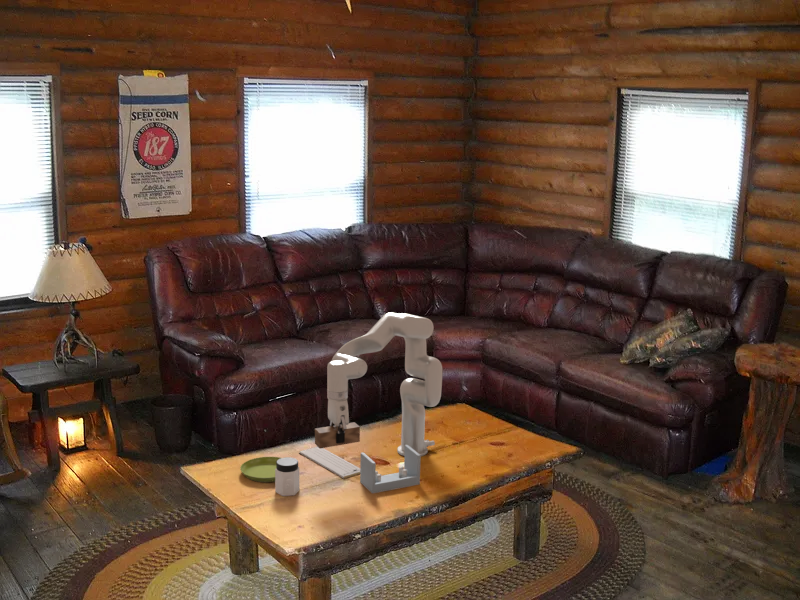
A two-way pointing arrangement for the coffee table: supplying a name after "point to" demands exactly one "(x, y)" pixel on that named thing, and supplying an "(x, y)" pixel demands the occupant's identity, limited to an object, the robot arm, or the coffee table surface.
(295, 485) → the jar
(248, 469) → the saucer
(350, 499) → the coffee table surface
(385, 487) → the peg frame
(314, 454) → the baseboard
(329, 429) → the shelf board
